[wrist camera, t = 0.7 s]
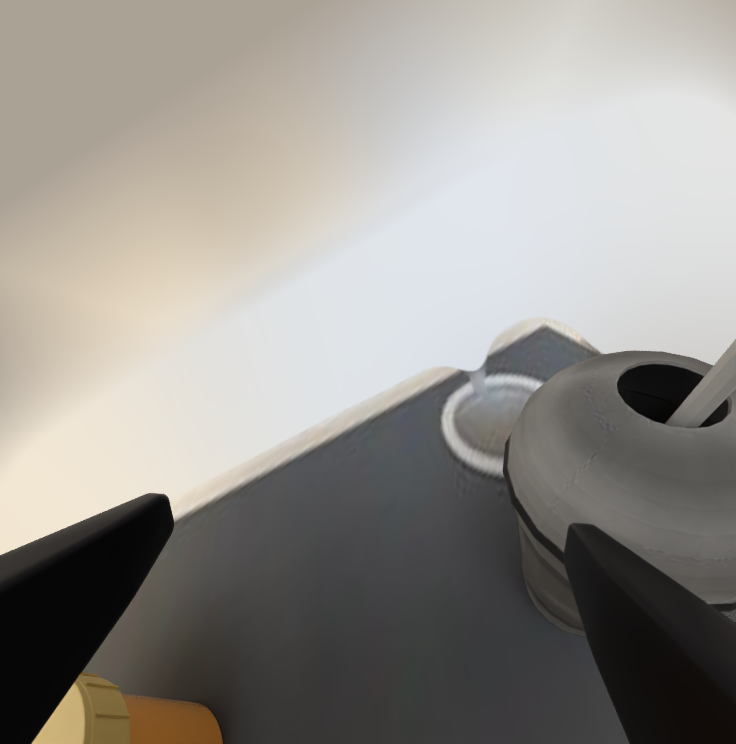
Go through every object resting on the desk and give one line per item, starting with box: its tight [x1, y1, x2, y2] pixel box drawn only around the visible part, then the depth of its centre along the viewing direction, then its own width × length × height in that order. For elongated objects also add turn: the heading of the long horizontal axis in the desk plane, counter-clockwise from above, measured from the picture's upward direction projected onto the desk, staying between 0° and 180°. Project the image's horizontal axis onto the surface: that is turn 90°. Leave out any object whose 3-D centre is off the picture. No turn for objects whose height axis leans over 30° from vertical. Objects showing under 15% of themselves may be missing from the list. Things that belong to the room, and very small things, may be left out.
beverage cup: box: [503, 340, 736, 636], centre depth 12 cm, size 7×7×20 cm
